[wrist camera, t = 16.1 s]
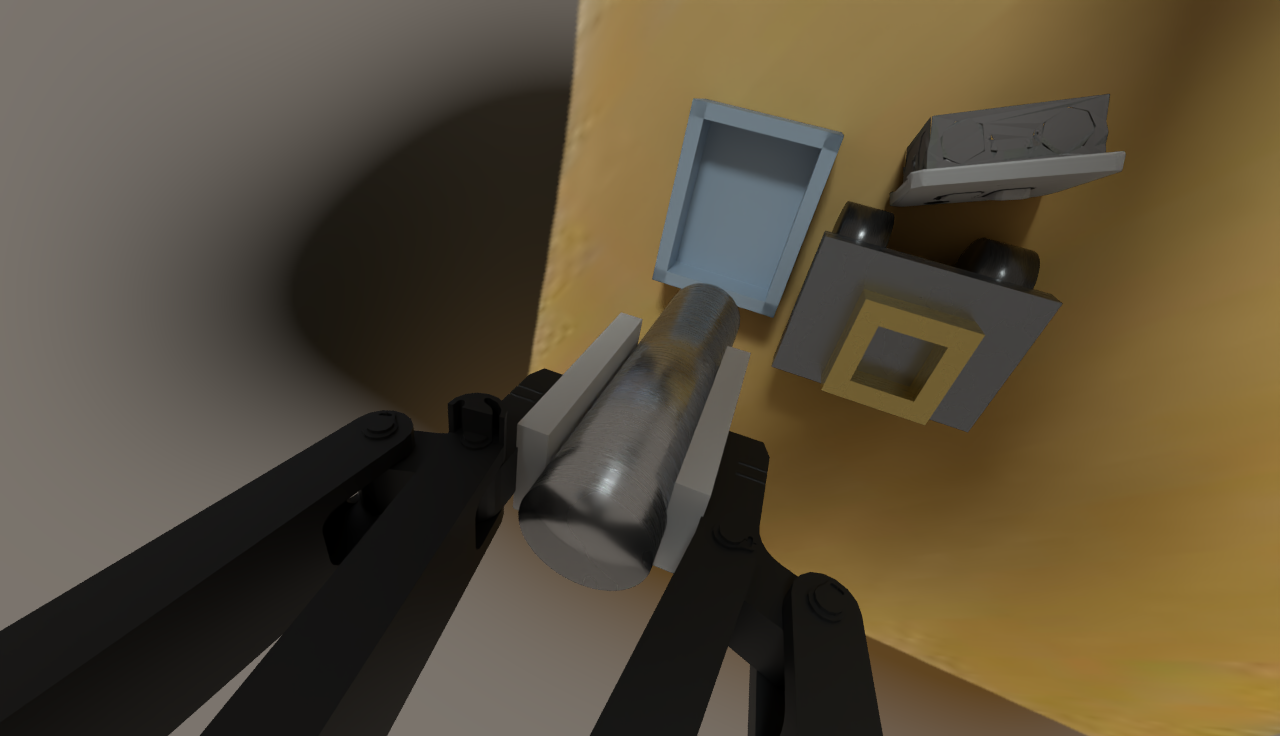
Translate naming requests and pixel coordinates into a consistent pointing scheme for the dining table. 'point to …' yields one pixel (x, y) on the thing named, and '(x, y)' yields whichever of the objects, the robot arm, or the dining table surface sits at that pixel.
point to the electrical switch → (1008, 153)
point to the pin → (630, 449)
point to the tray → (743, 201)
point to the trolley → (913, 322)
